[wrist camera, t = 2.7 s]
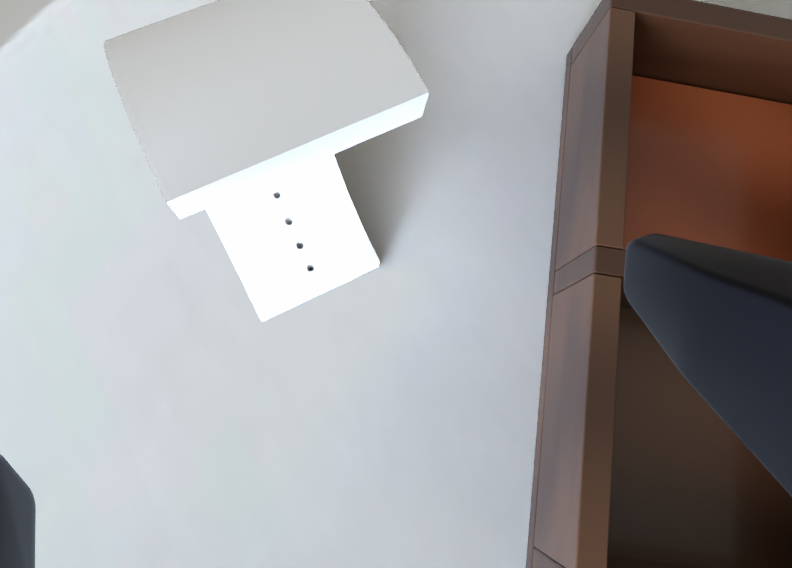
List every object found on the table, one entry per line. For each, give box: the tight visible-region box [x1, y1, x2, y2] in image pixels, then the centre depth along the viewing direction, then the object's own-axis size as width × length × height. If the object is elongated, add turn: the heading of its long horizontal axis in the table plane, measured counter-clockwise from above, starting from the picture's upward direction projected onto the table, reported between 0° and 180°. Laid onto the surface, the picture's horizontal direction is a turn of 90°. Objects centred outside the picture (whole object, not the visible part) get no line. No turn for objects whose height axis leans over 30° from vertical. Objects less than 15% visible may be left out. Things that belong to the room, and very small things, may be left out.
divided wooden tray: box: [526, 0, 792, 568], centre depth 20 cm, size 20×10×4 cm, turn 172°
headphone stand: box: [104, 0, 429, 322], centre depth 16 cm, size 5×6×12 cm
